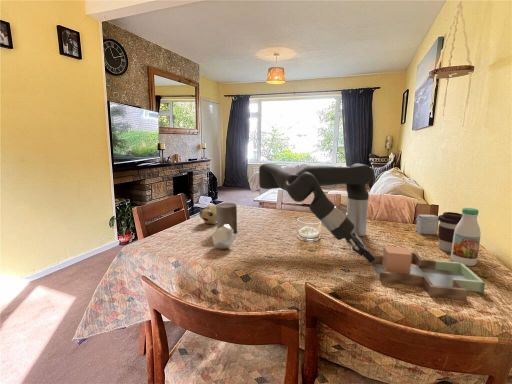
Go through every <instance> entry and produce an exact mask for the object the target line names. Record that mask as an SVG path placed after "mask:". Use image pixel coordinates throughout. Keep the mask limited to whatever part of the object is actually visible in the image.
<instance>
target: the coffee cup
mask: <svg viewBox="0 0 512 384" xmlns="http://www.w3.org/2000/svg"><path fill="white" fill-rule="evenodd" d="M437 217H438V220H439V223H438V233H437V235H438V248H439V250H441V251H444V252H447V253H448V252H449V253H451V251H452V243H453V237H454V231H455V228H456V226H457V224H458V223H459V221H460V220H461V218H462V213H459V212H454V211H453V212H452V211H445V212H443V213H442V214H440V215H438V216H437Z"/></svg>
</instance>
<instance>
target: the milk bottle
mask: <svg viewBox="0 0 512 384" xmlns="http://www.w3.org/2000/svg"><path fill="white" fill-rule="evenodd" d="M461 212H462V213H461V214H462V218H461V220H460V221H459V223H458V224H457V226H456V228H455V231H454V237H453V243H452V251H451V252H450V260H451V262H461V263H463V264H464V265H465V266H466V267H473V266H476V265H477V263H478V258H479V250H480V243H481V236H482V235H481V228H480V225H479V223H478V216H479V210H478V209H477V208H472V207H463V208H462V210H461Z"/></svg>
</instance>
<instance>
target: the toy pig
mask: <svg viewBox="0 0 512 384" xmlns="http://www.w3.org/2000/svg"><path fill="white" fill-rule="evenodd" d="M216 205H217V204H214V203H210V204H208V205H207V206H206V207H205V208H204V209H202V210H200V211H199V212H198V215H199V217H200V219H202V221H203V223H204V222H205V223H204V224H212V225H213V224H214V225H216V223H217V209H216Z"/></svg>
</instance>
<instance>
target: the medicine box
mask: <svg viewBox="0 0 512 384" xmlns="http://www.w3.org/2000/svg"><path fill="white" fill-rule="evenodd" d="M416 216H417V217H416V226H415V232H416V231H417V232H416V233H418V234H419V235H438V231H439V223H440V221H439V220H438V216H437V215H435V214H417V215H416Z"/></svg>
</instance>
